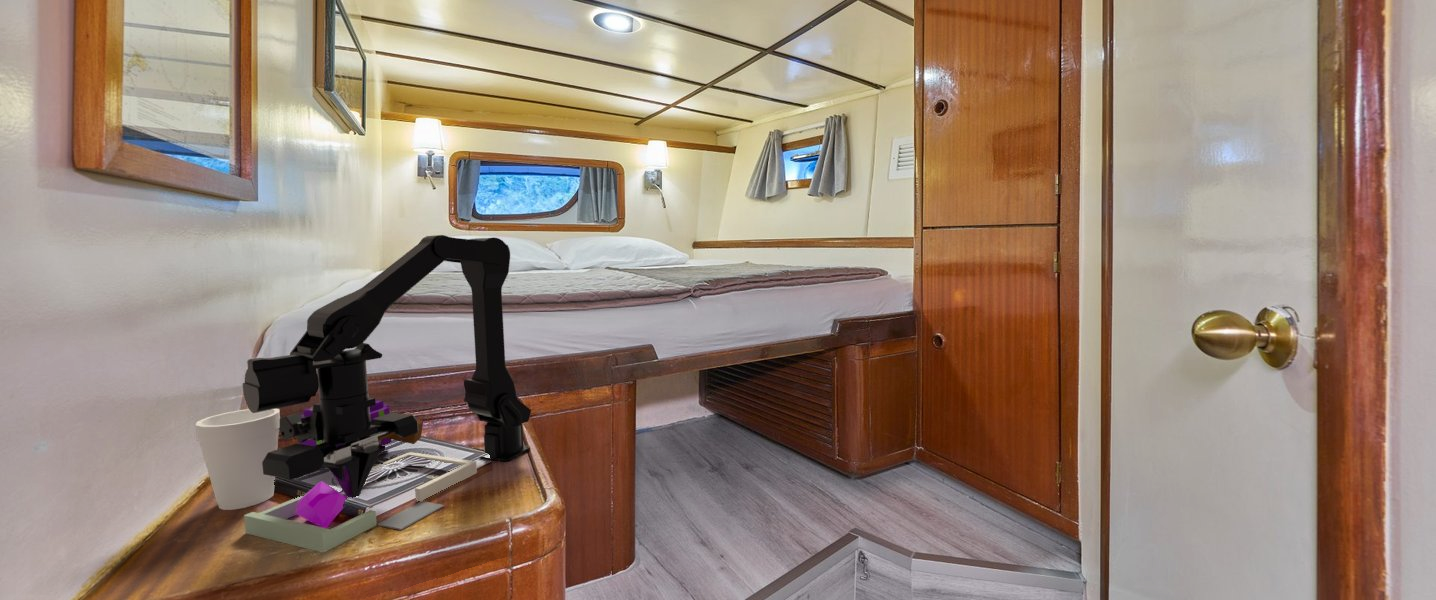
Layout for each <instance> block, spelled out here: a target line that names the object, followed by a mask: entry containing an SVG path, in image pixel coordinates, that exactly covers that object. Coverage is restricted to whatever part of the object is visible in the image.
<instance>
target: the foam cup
mask: <svg viewBox="0 0 1436 600" xmlns="http://www.w3.org/2000/svg"><path fill="white" fill-rule="evenodd" d="M280 419H281V415H280V408H276V409H271V410H267V411H262V412H257V413H252V412H251V411H250V410H249V408H247V409H239V410H233V411H229V412H223V413H220V414H215V415H212V416H208V417H204V418H202V419H200V420H197V421H196V423H195V435H196V441H197V442H199V443H198V444H199V445H200V450H201V452H202V453H201V454H202V456H203V459H204V463H205V466H206V469H207V472H208V476H209V477H208V478H209V479H210V483H211V486H212V490H213V493H214V496H215V500H216V503H217V505H218V509H220V510H223V511H224V510H225V511H228V510H229V511H232V510H239V509H245V508H249V507H251V506H255V505H259V504H261V503H263V502H266V501H268V500H270V499H271V498H273V496H274V495H275V494H274V492H275V486H276V485H274V482H275V483H276V477H275V476H269V475H264V474H263V465H262V462H263V460H264V458H265V457H266V455H267V453H268V452H271V451H275V450H278V446H279V444H278V443H279V433H280ZM274 480H275V481H274Z"/></svg>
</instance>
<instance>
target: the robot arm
mask: <svg viewBox="0 0 1436 600" xmlns="http://www.w3.org/2000/svg"><path fill="white" fill-rule="evenodd" d="M443 262H449V263H458V264H460V266H461V271H462V274H463V277H464V278H465V280H466V281H467V283H468V285H469V286H470V289H471V298H472V299H471V300H472V301H471V302H472V317H473V335H474V352H475V356H474V357H475V370H474V372H473V375H472V377H471V378H467V379H466V378H465V379H464V380H463V386H464V390H465V391H464V393H465V395H464V399H463V402H465V403H467V406H468V408H469V410H470V411H471V412H473V413H475V415H476V417H477V419H478V421H480V422H485V424H484V434H483V442H484V446H483V447H484V452H485V453H488V454H489V455H490V458H491V459H490V460H494V461H502V462H509V461H510V460H513V459H514V458H516V457H518V456H521V455H522V454H524V453H525V452H527V451H530V450H531V446H530V445H524V429H523V427H524V426H523V425H524V423H527V422H529V420H530V416H531V413H532V410H531V408H529V407H528V406H527V405H525V404H524V403H523V402H521V401H520V400H519V399H518V395H517V390H516V386H515V385H516V384H515V382H514V380H513V378H512V376H511V374H510V372H509V371H508V368H507V366H506V353H505V352H506V351H505V334H504V333H505V332H504V315H503V314H504V311H503V292H502V288H503V286H504V283H505V281H506V279H507V278H508V274H509V272H510V264H511V263H510V262H511V250H510V247H509V245H508V244H507V243H505V241H504V240H502V239H500V238H499V237H477V238H470V239H468V238H461V237H460V238H458V237H451V236H447V235H444V234H436V235H434V234H433V235H426V236H424V237H423V238H422V239H421V240H420V241H419V243H418V244H416V245H415V246H414V247H413V248H411V249H410V250H408V251H407V252H405V254H404V255H402V256H401V257H399V258H398V259H397V260H396V261H394V262H393V263H392V264H391V265H390V266H387V268H385V269H384V270H383V271H381V272H380V273H379V274H378V275H376V277H374V278H373V279H371V280H369V282H368V283H366V284H365V285H364V286H362V287H361V288H359V289H357V290H355V291H352V292H350V293H348V294H346V295H344V296H340V297H339V298H336V299H335V300H333V301H331V302H329V303H327V304H325V305H323V306H321V307H319V308H318V309H316V310H314V311H313V312H312V313H311V315H309V316H308V318H307V320H306V324H307V325H306V331H305V332H304V333H303V335H302V336H301V338H300V339H299V340H298V342H297V343H296V345H294V347H293V349H292V350H291V351H290V353H289V355H288V354H287V355H280V356H275V357H274V356H273V357H256V358H249V359H248V360H247V361H246V363H247V369H246V371H245V373H244V382H242V392H243V396H244V397H243V398H244V400H245V404H246V407H247V409H249V410H250V411H251V412H252V413H257V412H262V411H267V410H271V409H281V408H286V407H290V406H295V405H300V404H305V403H308V402H310V400H311V398H312V397H316V396H317V392H318V397H319V398H318V399H319V402H317V403H314V404H313V406H312V407H313V408H312V407H311V408H312V409H313V415H311V416H308V417H304V418H302V416H301V415H302V414H300V412H297V413H293V414H289V415H287V416H284V417H283V416H282V417H280V427H279V433H280V435H281V438H282V439H283V440H284V441H288V440H291V439H295V438H296V440H297V443H295V444H290V445H287V446H285V447H281V448H277V450H275V451H271V452H268V453H267V455H266V457H265V458H264V460H263V462H262V465H263V474H264V475H269V476H275V478H276V477H277V478H282V479H287V480H294V479H298V478H302V477H303V476H306V475H310V474H312V473H315V472H316V471H319V470H320V468H322V466H323V467H325V468H327V469H328V471H329V472H330V473H331V474H332V475H333V477H334V478H335V480H336V481H337V483H338V486H341V488H342V490H343V491H342V492H343V493H344V496H346V497H347V496H348V497H352V498H353V497H356V496H359V497H360V495H361V492H362V491H363V488H364V486H365V485H364V484H365V482H366V479H367V477H368V475H369V473H370V471H371V469H372V467H374V466H375V464H376V462H377V460H378V458H379V457H380V453H381V452H382V451H384V450H385V446H381V445H379V443H378V438H379V437H382V436H385V435H387V434H390V433H393V432H396V435H398V436H399V437H401V438H404V437H407V436H410V435H412V434H415V433H418V421H417V420H418V419H417V418H416V416H414V414H407V413H398V412H397V413H396V412H390V414H387V415H383V416H380V417H377V418H374V419H372V420H371V419H370V406H374V405H376V402H375V400H376V397H370V395H369V383H368V371H367V361H371V360H378V359H381V358H382V357H383V354H382V353H381V352H379V351H377V350H376V349H374V348H373V347H372V346H371V345H370V343H367V342H365V341H366V340H367V339H368V338H369V337H370V336H371V334H372V333H373V332H374V331H375V330H376V328H377V327H378V326H379V325H380V323H381V322H382V319H383V317H384V315H385V313H386V311H388V309H389V308H390V307H391V306H393V304H394V303H396V302H397V301H398V300H400V299H401V297H403V296H404V295H405V294H407V293H408V292H409V291H410V290H411V289H412V288H413V287H415V286H417V284H419V283H420V282H421V281H422V280H423V279H424V278H426V276H428V275H429V274H430V273H431V272H433V271H434V270H435V269H436V268H437V267H438V266H440V265H441V264H442V263H443ZM310 438H311V440H312V441H320V440H323V443H321V444H319V445H316V446H308V445H302V444H300V443H302V442H305V441H307V439H310ZM342 443H343V444H342ZM340 444H341V445H340ZM336 445H338V446H336ZM381 454H382V453H381Z"/></svg>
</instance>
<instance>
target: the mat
mask: <svg viewBox="0 0 1436 600" xmlns="http://www.w3.org/2000/svg"><path fill="white" fill-rule="evenodd" d="M444 507H445V505H444V504H440V503H435V502H429V501H425V500H424V501H421V502H417V503H415V504H414V505H411V506H409V507H407V508H405V509H403V510H402V511H399V512H398V513H395V514H394V515H392V516H390V517H389V518H386V519H384V520H382V521H381V522H378V523H377V526H379V527H384V528H388V529H395V530H399V531H403V530H404V529H406V528H408V527H409V526H412V525H413V524H415V523H417V522H419V521H420V520H422V519H424V518H426V517H428V516H430V515H431V514H433V513H435V512H436V511H439V510H440V509H442V508H444Z"/></svg>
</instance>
